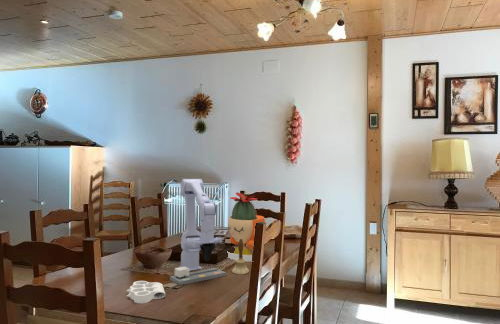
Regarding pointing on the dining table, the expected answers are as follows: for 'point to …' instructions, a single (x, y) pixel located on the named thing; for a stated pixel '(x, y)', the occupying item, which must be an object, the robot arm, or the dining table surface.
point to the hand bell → (240, 261)
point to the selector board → (198, 276)
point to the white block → (182, 272)
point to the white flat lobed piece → (145, 291)
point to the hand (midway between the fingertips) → (206, 260)
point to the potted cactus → (243, 226)
